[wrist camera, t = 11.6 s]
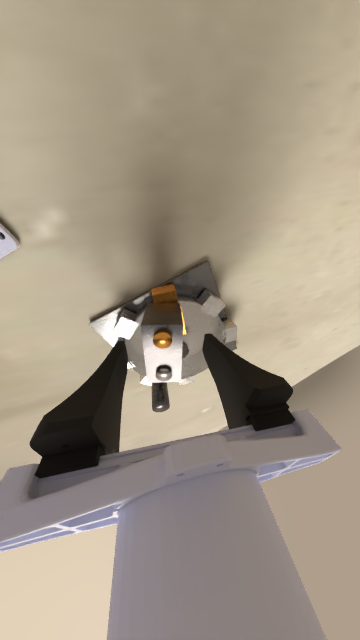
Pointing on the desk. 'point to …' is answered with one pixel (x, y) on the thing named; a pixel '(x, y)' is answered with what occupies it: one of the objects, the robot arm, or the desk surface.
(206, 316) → the sprocket
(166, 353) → the two-button control panel
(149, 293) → the plate
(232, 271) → the desk surface
